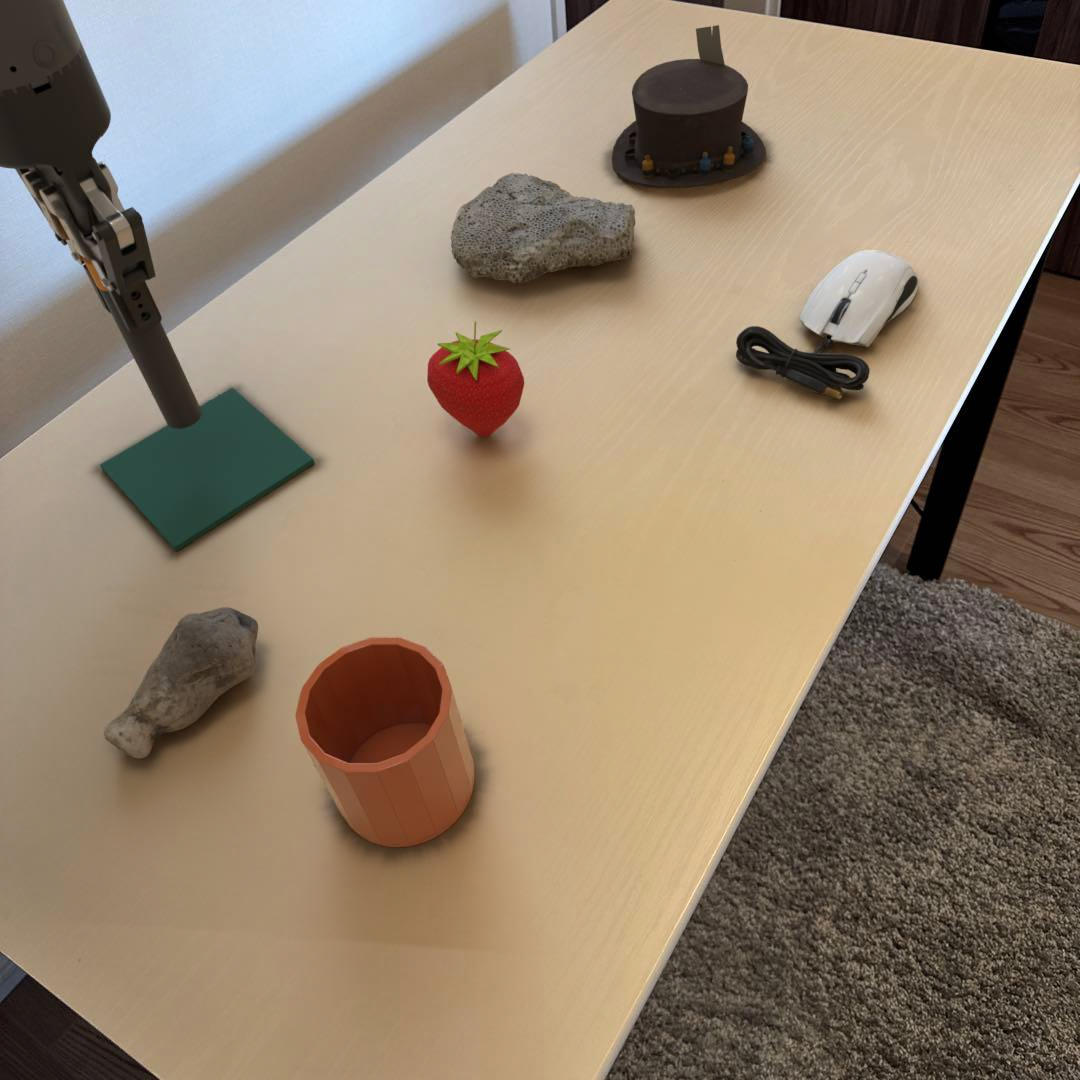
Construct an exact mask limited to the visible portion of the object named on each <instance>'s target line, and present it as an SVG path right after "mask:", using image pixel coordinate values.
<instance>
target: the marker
mask: <svg viewBox="0 0 1080 1080" xmlns="http://www.w3.org/2000/svg"><path fill="white" fill-rule="evenodd" d="M83 260H84V262H85V263H84V265H85V264H86V266H87V268H88V270H89V272H90V274H91V276H92V278H93V280H94V282H95V284H96V286H97V287H98V288H99V290H100V292H101V294H102V296H103V298H104V300H105V302H106V304H107V306H108V308H109V310H110V312H111V313H110V314H111V316H112V318H113V320H114V322H115V323H116V326H117V328H118V330H119V332H120V334H121V335H122V338H123V339H124V342H125V343H126V346H127V348H128V349H129V351H130V354H131V356H132V358H133V359H134V361H135V363H136V366H137V367H138V369H139V371H140V373H141V375H142V377H143V380H144V381H145V383H146V385H147V387H148V389H149V391H150V393H151V395H152V397H153V399H154V401H155V403H156V405H157V407H158V409H159V411H160V413H161V415H162V416H163V419H164V421H165V423H166V424H167V425H169V426H170V427H172V428H175V429H182V428H187V427H189V426H191V425H193V424H195V423H196V422H197V421H198V420H199V419H200V417H201V415H202V410H201V408H200V406H201V405H200V404H199V401H198V400H197V397H196V395H195V393H194V391H193V389H192V386H191V384H190V382H189V380H188V377H187V375H186V374H185V371H184V369H183V366H182V364H181V363H180V361H179V359H178V356H177V354H176V352H175V350H174V347H173V346H172V344H171V341H170V339H169V337H168V335H167V332H166V331H165V329H164V326H163V323H162V321H161V322H160V323H159V324H158V325H157V326H155V327H153V328H151V329H149V330H148V331H146V332H144V333H142V334H140V335H134V334H132V333H131V332H130V331H129V330H128V329H127V328H126V326H125V324H124V322H123V320H122V318H121V316H120V314H119V312H118V310H117V308H116V306H115V304H114V302H113V300H112V298H111V296H110V294H109V292H108V290H107V288H106V287H104V286H103V284H102V283H101V278H100V276H99V274H98V272H97V271H96V269H95V267H94V265H93V263H92V261H91V260H87V259H86V258H84V257H83Z"/></svg>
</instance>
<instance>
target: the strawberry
mask: <svg viewBox="0 0 1080 1080" xmlns="http://www.w3.org/2000/svg"><path fill="white" fill-rule="evenodd" d="M473 325H474V326H473V327H474V328H473V329H474V330H473V331H474V332H473V333H474V334H473V339H472V338H469V337H467V336H465V335H463V334H461V333H460V332H459V333H458V332H455V337H456V338H457V340H454V341H451V342H439V343H437V346H439V347H440V348H439V349H438V350H436V351H435V352H434V353H433V354H432V355H431V357H430V358H429V359H428V363H427V375H426V381H427V384H428V387H429V389H430V391H431V393H432V394H433V396H434V398H435V399H436V401H437V402H438V404H439V405H440V407H441V408H442V410H444V411H445V412H446V413H447V414H449V415H450V416H451V417H452V418H453V419H455V421H457V422H458V423H459V424H461V425H462V426H464V427H466V428H467V429H469V430H470V431H472V432H473V433H474V434H476V435H477V436H479V437H489V436H491V435H492V434H494V433H495V432H496V431H497V430H498V429H499V428H501V427H502V426H503V425H505V424H506V423H507V421H508V420H509V419H510V418H511V417H512V416H513V414H514V413H515V411H517V409H518V408H519V406H520V403H521V400H522V395H523V393H524V392H523V391H524V388H525V377H524V375H523V372H522V369H521V367H520V364H519V361H518V360H517V359H516V358H515V356H514V355H513V354H511V353H510V352H509V350H511V348H510V347H506V346H505V347H504V346H502V345H498V344H495V343H493V342H492V341H493V340H494V339H495V338H496V337H497V336H498V335H499V334H500V333H502V331H503V330H502V329H501V330H500V329H499V330H496V331H493V332H490V333H486V334H483V335H480V337H479V339H477V321H476V320H475V321H474V324H473Z"/></svg>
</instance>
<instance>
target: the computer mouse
mask: <svg viewBox="0 0 1080 1080" xmlns="http://www.w3.org/2000/svg"><path fill="white" fill-rule="evenodd" d="M918 287H919V279H918V276H917V273H916V272H915V270H914V268H913V266H912V265H910V263H909V262H907V261H906V260H904V259H903V258H901V256H898V255H896V254H894V253H891V252H888V251H884V250H879V249H864V250H860V251H856V252H855V253H853V254H851V255H849V256H848V257H846V258H845V259H843V260H842V261H841V262H839V264H837V265H836V266H835V267H833V268H832V270H831V271H829V272H828V273H827V274H826V275H825V276H824V277H823V278H822V279H821V280H820V281H819V282H818V283H817V284H816V286H815V288H813V289H814V290H813V291H812V292H811V294H810V296H809V297H808V299H807V301H806V303H805V305H804V306H803V308H802V311H801V313H800V315H799V316H798V319H797V320H798V321H800V322H801V323H802V324H803V325H804V327H806V328H807V329H808V330H810V331H811V332H813V333H815V334H816V335H818V336H819V337H821V338H825V339H822V340H820V343H819V345H818V346H817V347H816V348H815V350H814V351H813V352H806V351H801V350H798V349H797V348H793V347H791V346H790V345H789V344H787V343H785V342H784V341H783V340H781V339H780V338H779V337H778V336H777V335H776V334H774V333H773V332H771V331H770V330H769V329H766V328H765V327H762V326H758V325H750V326H748V327H746V328H744V329H743V330H742V331H741V332H740V333H739V334H738V335H737V337H736V340H735V345H736V347H737V349H736V352H735V357H736V359H737V361H738V362H739V363H740V364H742V365H744V366H747V367H750V368H752V369H755V370H761V371H762V370H767V371H768V370H769V371H770V370H771V371H775V375H777V376H780V377H781V378H785V379H786V380H788V381H790V382H792V383H795V384H797V385H799V386H800V387H801V386H802V387H804V388H805V389H808V390H810V391H812V392H814V393H817V394H820V395H823V394H826V395H830V396H832V397H834V398H836V399H838V400H840V399H842V397H843V395H844V391H843V390H842V389H844V390H848V391H849V390H850V391H861V390H863V389H864V386H865V385H864V384H865V383H866V382H867V381H868V379H869V376H870V366H869V364H868V363H867V361H865V360H864V359H862V358H861V357H860V356H857V355H853V354H848V353H832V352H831V353H830V352H829V353H828V352H827V353H825V352H822V353H821V352H820V351H821V350H822V349H823V350H824V349H826V348H828V347H830V345H832V344H833V342H835V343H843V344H847V345H853V346H860V347H866V348H868V347H870V346H871V344H872V343H873V342H874V341H875V339H876V338H877V336H878V334H879V333H880V331H881V330H882V329H883V328H885V326H886V325H887V324H889V322H890V321H891V320H893V319H894V318H896V317H897V316H898V315H899V314H901V313H902V312H903V311H905V309H906V308H907V307H909V305H910V304H911V303H912V301H913V299H915V296H916V293H917V292H918V289H919V288H918ZM753 347H760V348H762V349H763V350H766V351H762V350H758V349H756V348H753ZM837 370H844V371H850V372H851V373H852V374H854V376H852V377H851V376H850V375H848V374H846V373H844V372H839V371H837Z"/></svg>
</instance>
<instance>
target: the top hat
mask: <svg viewBox="0 0 1080 1080" xmlns="http://www.w3.org/2000/svg"><path fill="white" fill-rule="evenodd" d="M695 35H696V45H697V51H698V57H699V58H683V59H674V60H670V61H665V62H663V63H660V64H657V65H654V66H652V67H651V68H649V69H647V70H646V71H644V72H643V73H642V74H640V76H638V78H636V80H635V81H634V83H633V84H632V85H633V86H632V89H631V95H632V96H631V98H632V102H633V110H634V116H635V120H634V121H633V122H631V123H630V124H629V125H628V126H626V128H625V129H624V130H623V131H622V132H621V133H620V135H619V136H618V137H617V139H616V141H615V143H614V145H613V147H612V152H611V164H612V169H613V171H614V172H615V174H616V175H617V176H618V177H619V178H621V179H622V180H623V181H625V182H628V183H630V184H633V185H635V186H640V187H645V188H651V189H660V190H677V189H678V190H679V189H693V188H694V189H695V188H703V187H709V186H714V185H719V184H724V183H727V182H731V181H735V180H738V179H740V178H743V177H745V176H748V175H749V174H752V173H753V172H755V171H756V170H758V169H759V168H760V167H761V166H762V165H763V164H764V162H765V160H766V156H767V155H766V153H767V150H766V146H765V143H764V142H763V140H762V139H761V137H760V136H759V134H758V133H757V132H756V131H755V130H754V129H753V128H752V127H750V126H749V125H748V124H746V123H745V122H744V121H743V118H744V112H745V107H746V103H747V97H748V93H749V84H748V81H747V79H746V78H745V77H744V76H743V74H742V73H740V72H739V71H737V70H736V69H735V68H733V67H730V66H729V65H727V64H726V63H725V59H724V53H723V49H722V42H721V40H722V39H721V31H720V25H719V24H717V25H712V26H711V25H710V26H704V27H698V28H697V27H696V28H695Z"/></svg>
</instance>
